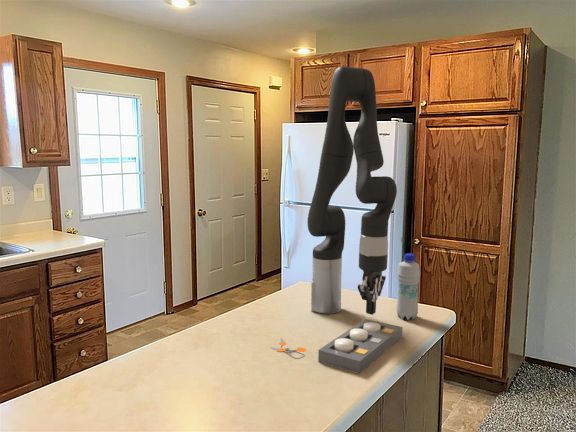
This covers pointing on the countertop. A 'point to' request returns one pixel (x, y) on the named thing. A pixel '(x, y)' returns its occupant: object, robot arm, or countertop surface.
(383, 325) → the panel
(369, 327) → the button back
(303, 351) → the key chain
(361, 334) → the button middle
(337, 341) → the button front
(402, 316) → the bottle
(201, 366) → the countertop surface
